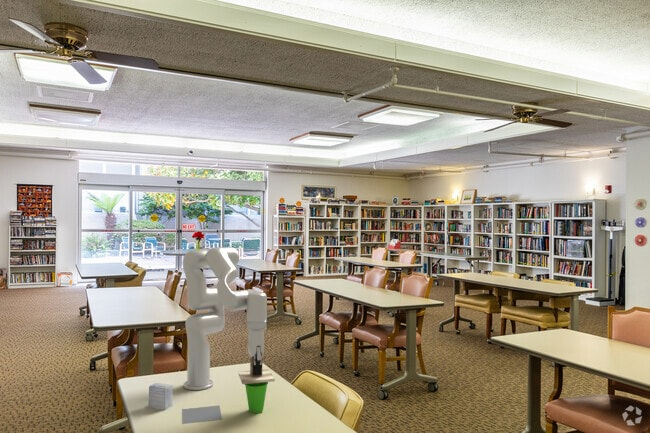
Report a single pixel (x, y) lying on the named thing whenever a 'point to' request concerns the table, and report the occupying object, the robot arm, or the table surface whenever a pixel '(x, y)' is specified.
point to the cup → (256, 396)
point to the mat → (201, 414)
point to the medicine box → (160, 396)
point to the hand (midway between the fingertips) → (256, 372)
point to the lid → (249, 378)
